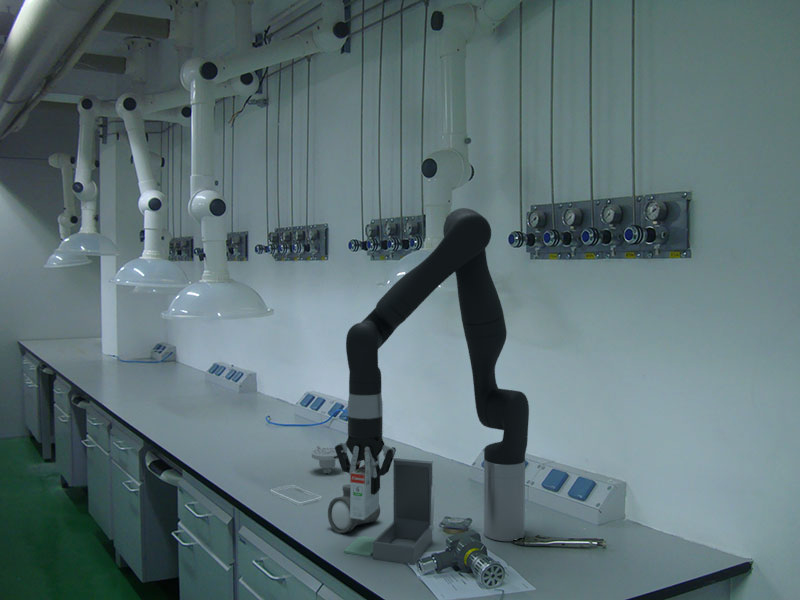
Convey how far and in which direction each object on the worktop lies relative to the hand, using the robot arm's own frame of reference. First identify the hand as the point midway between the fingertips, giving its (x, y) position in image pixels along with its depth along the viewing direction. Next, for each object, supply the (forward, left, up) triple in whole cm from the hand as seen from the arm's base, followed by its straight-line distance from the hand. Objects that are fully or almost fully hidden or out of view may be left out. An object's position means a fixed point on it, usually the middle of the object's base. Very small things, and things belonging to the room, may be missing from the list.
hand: (365, 492), depth 147 cm
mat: (0, 0, -12) cm, 12 cm away
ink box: (0, 0, -5) cm, 5 cm away
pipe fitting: (-11, -7, -12) cm, 18 cm away
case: (-2, +9, -12) cm, 15 cm away
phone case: (-27, -31, -13) cm, 43 cm away
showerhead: (-50, -33, -12) cm, 61 cm away
